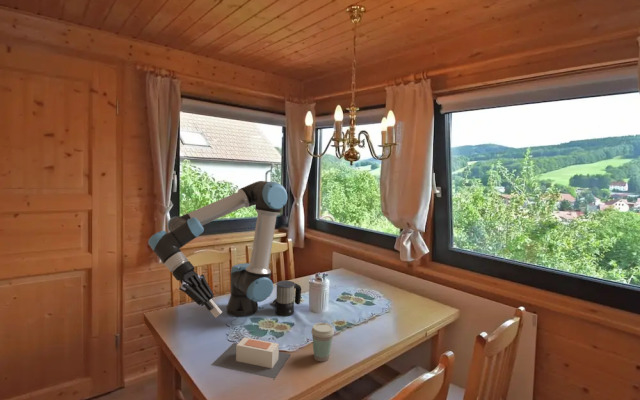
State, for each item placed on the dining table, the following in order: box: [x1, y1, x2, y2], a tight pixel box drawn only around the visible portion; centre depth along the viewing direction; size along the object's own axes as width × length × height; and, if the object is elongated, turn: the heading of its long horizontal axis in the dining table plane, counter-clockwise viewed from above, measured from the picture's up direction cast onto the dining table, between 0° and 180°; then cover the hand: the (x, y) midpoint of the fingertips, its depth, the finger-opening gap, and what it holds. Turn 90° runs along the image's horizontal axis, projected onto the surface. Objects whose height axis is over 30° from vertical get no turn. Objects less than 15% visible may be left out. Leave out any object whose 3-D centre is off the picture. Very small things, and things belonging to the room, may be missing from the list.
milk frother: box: [272, 280, 302, 317], centre depth 170 cm, size 14×16×15 cm
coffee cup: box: [311, 322, 335, 362], centre depth 128 cm, size 8×9×12 cm
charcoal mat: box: [211, 342, 291, 380], centre depth 124 cm, size 24×16×1 cm, turn 75°
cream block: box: [236, 337, 280, 368], centre depth 124 cm, size 6×6×14 cm
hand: (218, 315), depth 126 cm, fingers closed
